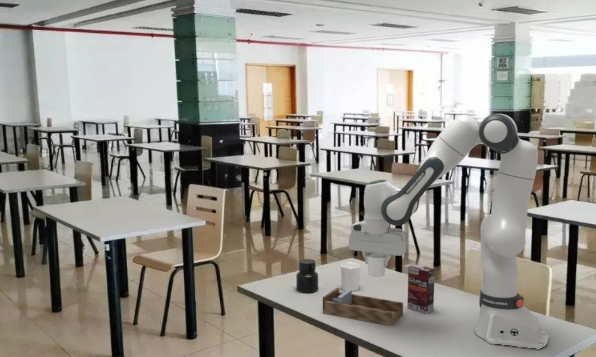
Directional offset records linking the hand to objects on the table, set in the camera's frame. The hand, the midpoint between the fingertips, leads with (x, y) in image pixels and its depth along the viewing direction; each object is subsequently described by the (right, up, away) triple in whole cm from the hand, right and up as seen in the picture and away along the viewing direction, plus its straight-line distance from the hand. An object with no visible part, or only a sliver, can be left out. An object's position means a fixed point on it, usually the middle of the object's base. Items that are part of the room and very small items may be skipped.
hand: (376, 264), depth 206 cm
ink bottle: (-24, -15, +32) cm, 42 cm away
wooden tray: (-4, -18, +5) cm, 20 cm away
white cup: (-6, -15, +32) cm, 36 cm away
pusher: (-12, -17, +9) cm, 23 cm away
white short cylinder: (0, -4, 0) cm, 4 cm away
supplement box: (+17, -18, +9) cm, 26 cm away
